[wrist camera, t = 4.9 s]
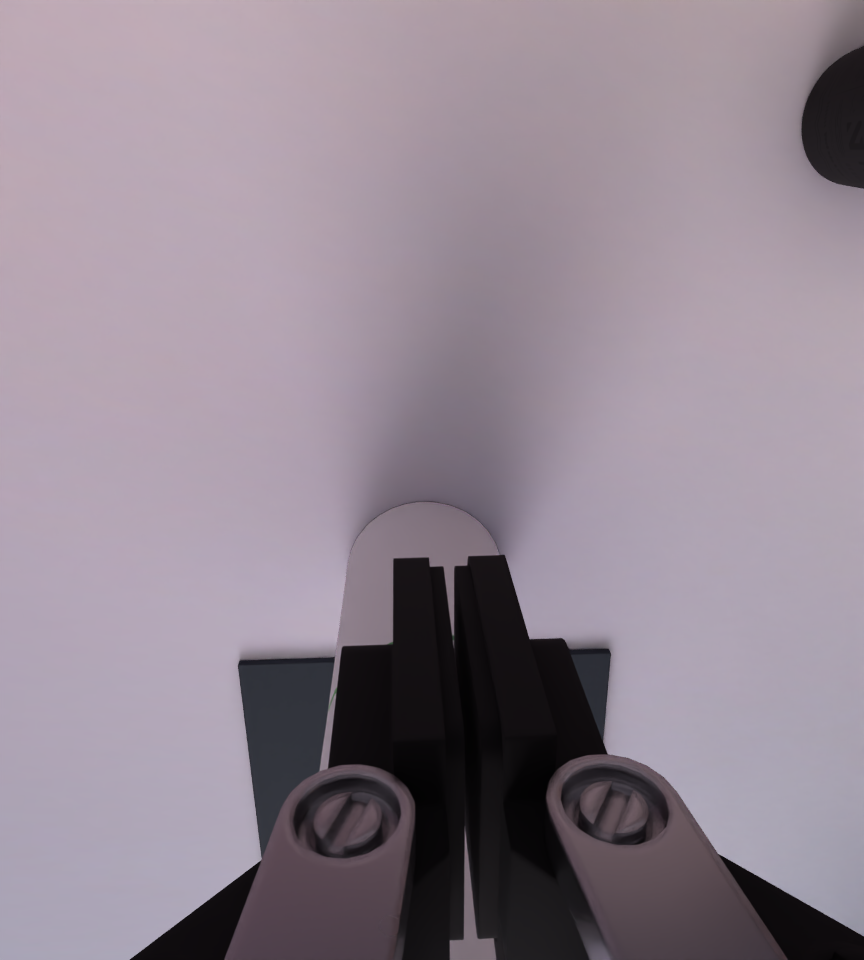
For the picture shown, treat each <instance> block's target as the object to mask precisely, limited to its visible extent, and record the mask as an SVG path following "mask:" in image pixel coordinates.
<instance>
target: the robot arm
mask: <svg viewBox="0 0 864 960" xmlns="http://www.w3.org/2000/svg"><path fill="white" fill-rule="evenodd" d="M465 832H466V841H467V850H468V860H469V869H470V878H471V887H472V897H473V906H474V915H475V924H476V933H477V938H478V939H490V938H494V946H495V954H496V960H864V936H862V935H860V934H858V933H857V932H855V931H853V930H851V929H850V928H848V927H846V926H844V925H843V924H841V923H839V922H837V921H835V920H834V919H832V918H830V917H828V916H827V915H825V914H823V913H821V912H820V911H818V910H816V909H814V908H813V907H811V906H809V905H807V904H806V903H804V902H802V901H800V900H799V899H797V898H795V897H793V896H791V895H790V894H788V893H786V892H784V891H783V890H781V889H779V888H777V887H776V886H774V885H772V884H770V883H769V882H767V881H765V880H763V879H762V878H760V877H758V876H756V875H754V874H753V873H751V872H749V871H747V870H746V869H744V868H742V867H740V866H739V865H737V864H735V863H733V862H732V861H730V860H728V859H726V858H725V857H723V856H721V855H719V854H718V853H717V852H716V850H715V849H714V847H713V846H712V844H711V843H710V841H709V840H708V838H707V837H706V835H705V834H704V832H703V831H702V829H701V828H700V826H699V825H698V823H697V822H696V820H695V819H694V817H693V816H692V814H691V813H690V811H689V810H688V808H687V806H686V805H685V803H684V802H683V800H682V799H681V797H680V796H679V794H678V793H677V791H676V790H675V789H674V788H673V787H672V786H671V785H670V784H669V782H668V781H667V780H666V779H665V778H664V777H663V776H661V775H660V774H658V773H657V772H655V771H654V770H653V769H651V768H650V767H648V766H646V765H644V764H641V763H639V762H637V761H634V760H632V759H629V758H625V757H620V756H614V755H609V754H607V751H606V749H605V746H604V743H603V741H602V738H601V735H600V732H599V730H598V727H597V724H596V722H595V719H594V716H593V713H592V711H591V708H590V705H589V703H588V700H587V697H586V695H585V692H584V689H583V686H582V684H581V681H580V678H579V676H578V673H577V670H576V668H575V665H574V662H573V659H572V657H571V654H570V651H569V649H568V646H567V644H566V642H565V640H564V639H562V638H557V639H529V636H528V633H527V629H526V626H525V622H524V619H523V615H522V612H521V609H520V605H519V602H518V598H517V595H516V592H515V588H514V585H513V581H512V578H511V574H510V571H509V568H508V564H507V561H506V558H505V555H487V556H468V561H467V566H455V567H454V645H453V637H452V629H451V622H450V614H449V606H448V598H447V590H446V582H445V574H444V567H443V566H436V567H430V563H429V557H421V558H393V644H386V645H357V646H343V647H342V650H341V657H340V666H339V675H338V683H337V692H336V701H335V710H334V719H333V727H332V736H331V745H330V754H329V763H328V769H325V770H322V771H320V772H318V773H316V774H314V775H312V776H310V777H308V778H307V779H305V780H303V781H302V782H301V783H300V784H299V785H298V786H297V787H296V788H295V789H294V790H292V791H291V792H290V793H289V795H288V797H287V799H286V800H285V802H284V804H283V806H282V807H281V809H280V812H279V815H278V817H277V820H276V823H275V825H274V828H273V831H272V833H271V836H270V839H269V841H268V844H267V847H266V849H265V852H264V855H263V857H262V860H261V861H260V862H258V863H257V864H256V865H254V866H253V867H252V868H250V869H249V870H248V871H246V872H245V873H244V874H243V875H241V876H240V877H239V878H237V879H236V880H235V881H233V882H232V883H231V884H229V885H228V886H227V887H225V888H224V889H223V890H221V891H220V892H219V893H217V894H216V895H215V896H213V897H212V898H211V899H209V900H208V901H207V902H205V903H204V904H203V905H201V906H200V907H199V908H197V909H196V910H195V911H194V912H192V913H191V914H190V915H188V916H187V917H186V918H184V919H183V920H182V921H180V922H179V923H178V924H176V925H175V926H174V927H172V928H171V929H170V930H168V931H167V932H166V933H164V934H163V935H162V936H160V937H159V938H158V939H156V940H155V941H154V942H152V943H151V944H150V945H148V946H147V947H146V948H145V949H143V950H142V951H141V952H139V953H138V954H137V955H135V956H134V957H133V958H131V959H130V960H450V940H463V939H464V858H465Z"/></svg>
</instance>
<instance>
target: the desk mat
mask: <svg viewBox="0 0 864 960" xmlns="http://www.w3.org/2000/svg"><path fill="white" fill-rule="evenodd" d="M569 651H570V654H571V657H572V659H573V662H574V665H575V668H576V670H577V673H578V676H579V678H580V681H581V684H582V686H583V689H584V692H585V695H586V697H587V700H588V703H589V705H590V708H591V711H592V713H593V716H594V719H595V722H596V724H597V727H598V730H599V732H600V735H601V738H602V741H603V736H604V724H605V713H606V702H607V690H608V679H609V668H610V657H611V653H610V651H609V649H593V650H569ZM334 662H335V658H313V659H282V660H251V661H239V664H238V669H239V677H240V686H241V694H242V702H243V710H244V718H245V726H246V734H247V742H248V751H249V759H250V767H251V775H252V783H253V791H254V799H255V807H256V816H257V824H258V832H259V840H260V848H261V856H262V857H263V855H264V852H265V849H266V847H267V844H268V841H269V839H270V836H271V833H272V831H273V828H274V825H275V823H276V820H277V817H278V815H279V812H280V809H281V807H282V806H283V804H284V802H285V800H286V799H287V797H288V795H289V793H290V792H291V791H292V790H294V789H295V788H296V787H297V786H298V785H299V784H300V783H301V782H302V781H303V780H305V779H307V778H308V777H310V776H312V775H314V774H316V773H318V772H319V771H320V764H321V756H322V749H323V742H324V736H325V729H326V722H327V714H328V707H329V699H330V692H331V684H332V677H333V670H334Z"/></svg>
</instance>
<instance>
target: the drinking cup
mask: <svg viewBox="0 0 864 960" xmlns="http://www.w3.org/2000/svg"><path fill="white" fill-rule="evenodd" d="M802 140H803V145H804V149H805V152H806V155H807V157H808V159H809V161H810V163H811V164H812V166H813V167H814V168H815V169H816V170H817V172H818V173H819V174H821V175H822V176H823V177H825V178H826V179H828V180H830V181H832V182H835V183H838V184H842V185H847V186H852V187H858V188H864V46H862V47H860V48H858V49H856V50H854V51H852V52H850V53H848V54H846V55H844V56H843V57H841V58H840V59H838V60H837V61H836V62H835V63H833V64H832V65H831V66H830V67H829V68H828V69H827V70H826V71H825V72H824V73H823V75H822V76H821V77H820V78H819V80H818V81H817V83H816V84H815V86H814V88H813V90H812V91H811V93H810V96H809V98H808V100H807V103H806V106H805V110H804V114H803V120H802Z"/></svg>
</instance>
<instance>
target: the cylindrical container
mask: <svg viewBox="0 0 864 960" xmlns="http://www.w3.org/2000/svg"><path fill="white" fill-rule="evenodd" d="M487 555H499V553H498V550H497V547H496V544H495V542H494V540H493V539H492V537H491V535H490V534H489V532H488V531H487V530H486V528H485V527H484V526H483V525H482V524H481V523H480V522H479V521H478V520H477V519H475V518H474V517H472V516H471V515H469V514H468V513H466V512H465V511H462V510H460V509H458V508H455V507H453V506H450V505H446V504H441V503H436V502H416V503H409V504H404V505H401V506H398V507H395V508H392V509H390V510H388V511H386V512H385V513H383V514H381V515H379V516H378V517H376V518H375V519H374V520H373V521H372V522H370V523H369V524H368V525H367V526H366V527H365V528H364V530H363V531H362V532H361V533H360V535H359V536H358V537H357V539H356V541H355V543H354V545H353V547H352V549H351V552H350V556H349V561H348V565H347V573H346V580H345V588H344V595H343V603H342V610H341V617H340V625H339V632H338V640H337V647H336V655H335V662H334V670H333V677H332V684H331V692H330V699H329V707H328V714H327V722H326V729H325V736H324V742H323V749H322V756H321V764H320V771H322V770H325V769H328V763H329V754H330V745H331V736H332V727H333V719H334V710H335V701H336V692H337V683H338V675H339V666H340V657H341V650H342V647H343V646H357V645H386V644H393V558H421V557H429V563H430V567H436V566H443V567H444V574H445V582H446V590H447V598H448V606H449V614H450V622H451V629H452V637H453V645H454V567H455V566H467V561H468V556H487ZM320 771H319V772H320ZM450 960H496V954H495V946H494V938H490V939H478V938H477V933H476V924H475V915H474V906H473V897H472V887H471V878H470V869H469V860H468V850H467V841H466V832H465V858H464V939H463V940H450Z"/></svg>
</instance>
